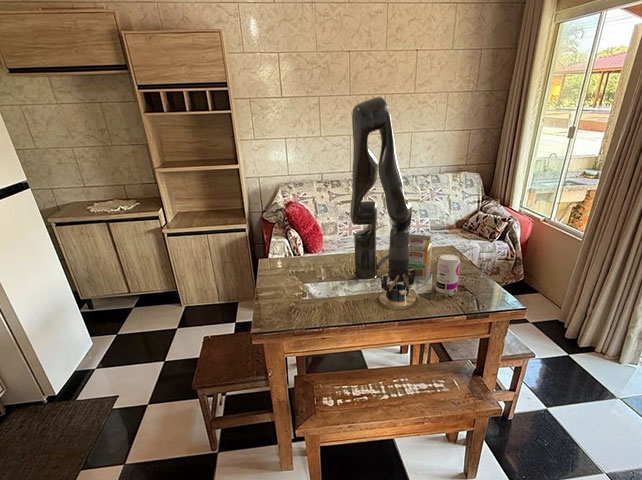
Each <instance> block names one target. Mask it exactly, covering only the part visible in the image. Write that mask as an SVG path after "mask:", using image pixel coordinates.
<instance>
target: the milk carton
mask: <svg viewBox="0 0 642 480" xmlns="http://www.w3.org/2000/svg"><path fill="white" fill-rule="evenodd" d="M432 253H433V241H432V235H426V234H416V233H415V234H413V233H409V268H408V269H410V268H412V269H414V270H415V278H414V280H423V281H426V280H428V279H429V277H430V275H431V269H432V255H433V254H432ZM408 276H409V274H408V275H407V276H406V278H407V280H408Z"/></svg>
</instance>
